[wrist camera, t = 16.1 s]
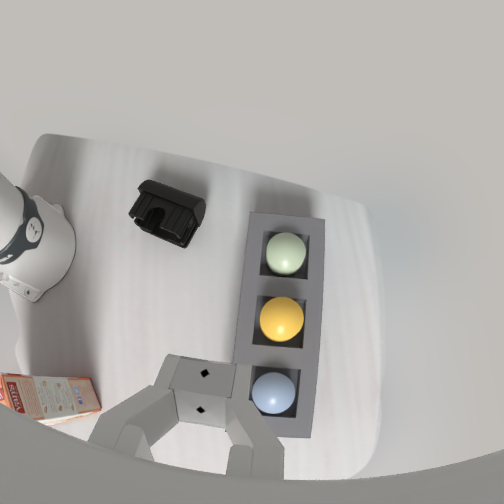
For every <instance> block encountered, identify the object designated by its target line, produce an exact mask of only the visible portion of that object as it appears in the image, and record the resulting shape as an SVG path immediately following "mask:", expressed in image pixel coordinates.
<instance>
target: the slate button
mask: <svg viewBox="0 0 504 504" xmlns="http://www.w3.org/2000/svg"><path fill="white" fill-rule="evenodd" d="M252 397H253V401H254V403H255V404H256V406H257V407H258V408H259V409H260V410H262V411H264V412H266V413H271V414H275V413H280V412H283V411H285V410H286V409H288V408H289V407H290V406H291V404H292V403H293V401H294V398H295V388H294V385H293V383H292V381H291V380H290V379H289V378H288V377H286V376H285V375H283V374H280V373H277V372H268V373H265V374H263V375H261V376H260V377H259V378H257V380H256V381H255V383H254V385H253V389H252Z"/></svg>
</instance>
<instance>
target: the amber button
mask: <svg viewBox="0 0 504 504" xmlns="http://www.w3.org/2000/svg"><path fill="white" fill-rule="evenodd" d="M303 321H304V316H303V311H302V309H301V307H300V306H299V304H298V303H297V302H295V301H294V300H292V299H290V298H287V297H276V298H273V299H271V300H270V301H268V302H267V303H266V304H265V305H264V307H263V308H262V311H261V314H260V328H261V331H262V333H263V334H264V335H265V336H266V337H267V338H268V339H270V340H272V341H275V342H284V341H287V340H289V339H291V338H292V337H294V336H295V335H296V334H297V333H298V332H299V331H300V329H301V328H302V325H303Z"/></svg>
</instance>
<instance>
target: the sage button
mask: <svg viewBox="0 0 504 504" xmlns="http://www.w3.org/2000/svg"><path fill="white" fill-rule="evenodd" d="M305 255H306V248H305V245H304V243H303V241H302V240H301V239H300V238H299V237H298V236H296V235H294V234H292V233H279V234H277V235H275V236H274V237H272V238H271V240H270V241H269V243H268V245H267V251H266V265H267V267H268V269H269V270H270V272H271V273H273V274H274V275H276V276H278V277H290V276H293V275H294V274H296V273H297V272H298V271H299V269H300V267H301V265H302V263H303V261H304V258H305Z"/></svg>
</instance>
